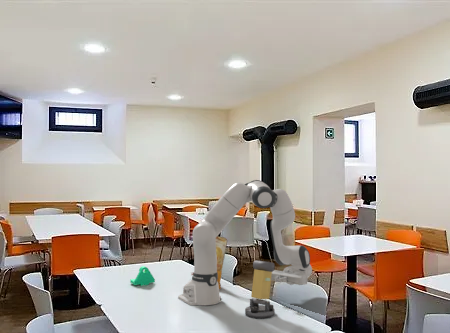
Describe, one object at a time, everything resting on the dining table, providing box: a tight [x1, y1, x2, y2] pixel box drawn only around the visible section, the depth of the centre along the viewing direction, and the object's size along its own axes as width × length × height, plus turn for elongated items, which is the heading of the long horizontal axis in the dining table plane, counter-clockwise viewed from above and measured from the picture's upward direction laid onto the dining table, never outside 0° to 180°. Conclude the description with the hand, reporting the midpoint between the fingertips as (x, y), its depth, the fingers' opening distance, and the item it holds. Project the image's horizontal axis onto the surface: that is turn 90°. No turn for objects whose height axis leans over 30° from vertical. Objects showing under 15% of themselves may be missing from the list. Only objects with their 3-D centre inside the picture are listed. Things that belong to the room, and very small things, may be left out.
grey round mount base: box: [244, 297, 276, 320], centre depth 189 cm, size 13×13×6 cm
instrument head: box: [250, 259, 276, 306], centre depth 190 cm, size 9×7×18 cm
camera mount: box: [129, 265, 156, 287], centre depth 243 cm, size 12×8×10 cm, turn 124°
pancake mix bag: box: [216, 235, 228, 290], centre depth 238 cm, size 7×19×28 cm, turn 34°
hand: (277, 280), depth 201 cm, fingers closed
